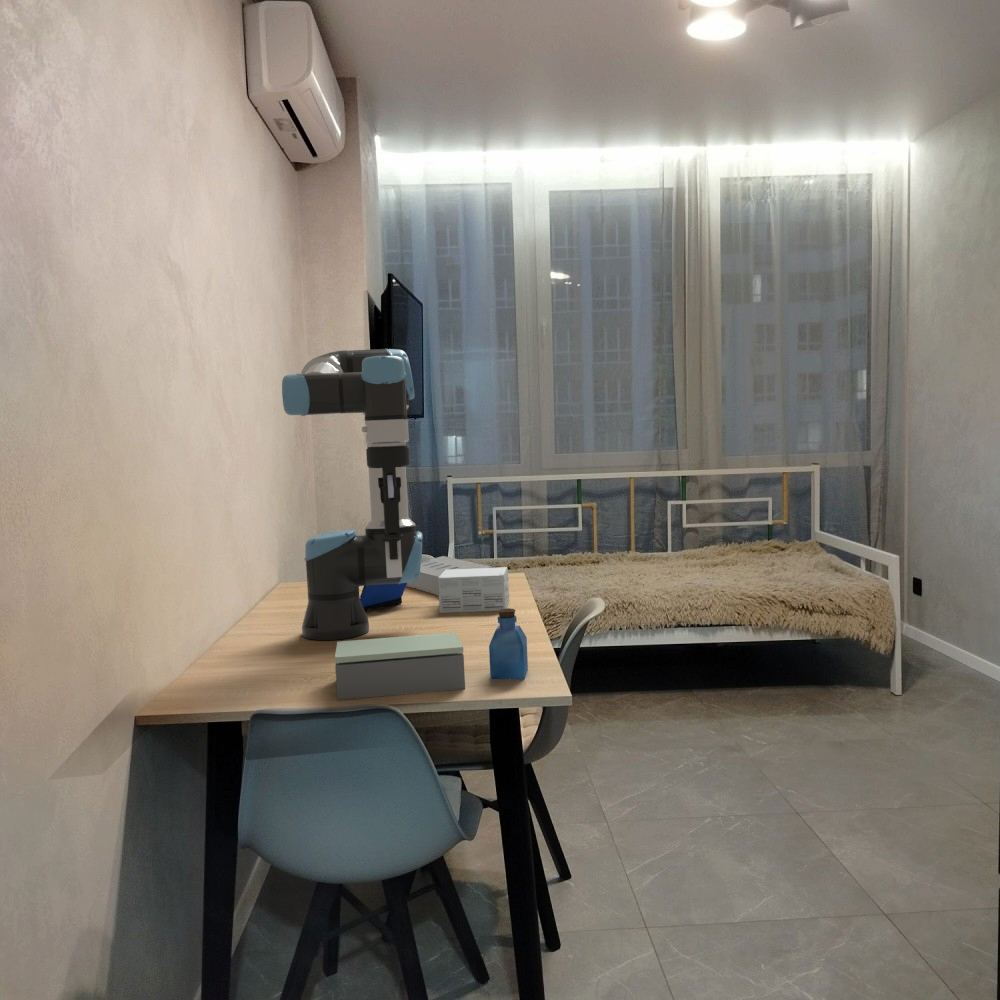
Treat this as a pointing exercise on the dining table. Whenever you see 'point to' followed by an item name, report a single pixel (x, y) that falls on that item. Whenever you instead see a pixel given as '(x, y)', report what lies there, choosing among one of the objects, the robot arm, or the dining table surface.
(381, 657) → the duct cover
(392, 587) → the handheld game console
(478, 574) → the supplement box
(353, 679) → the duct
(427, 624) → the dining table surface
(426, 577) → the warehouse
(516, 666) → the perfume bottle
